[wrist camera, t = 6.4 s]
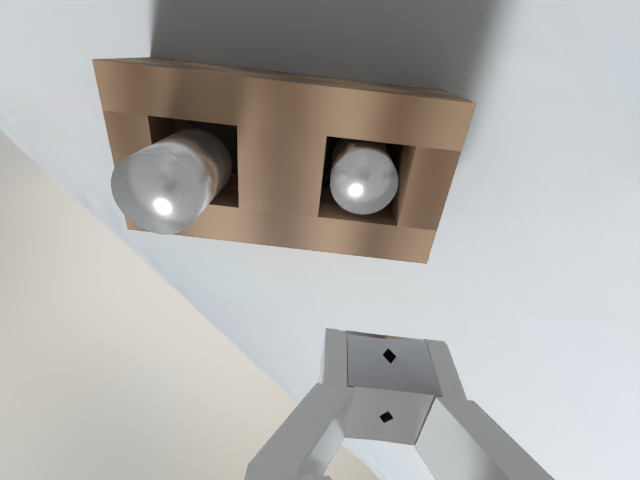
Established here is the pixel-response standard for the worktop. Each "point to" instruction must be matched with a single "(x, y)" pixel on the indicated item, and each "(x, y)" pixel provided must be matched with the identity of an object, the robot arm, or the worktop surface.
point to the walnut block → (294, 150)
